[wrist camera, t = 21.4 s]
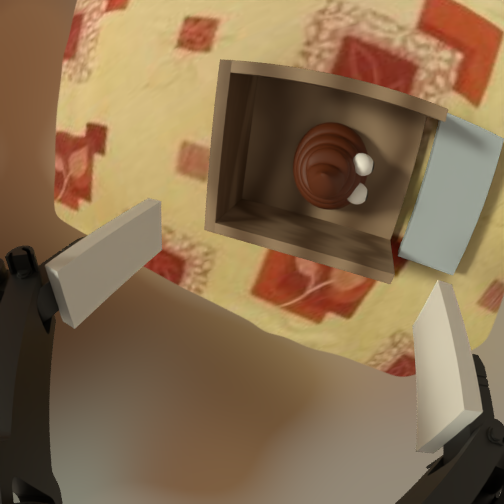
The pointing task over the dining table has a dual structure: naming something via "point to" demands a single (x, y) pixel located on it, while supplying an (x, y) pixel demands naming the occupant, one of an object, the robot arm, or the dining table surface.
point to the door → (451, 194)
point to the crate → (282, 155)
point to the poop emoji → (332, 166)
